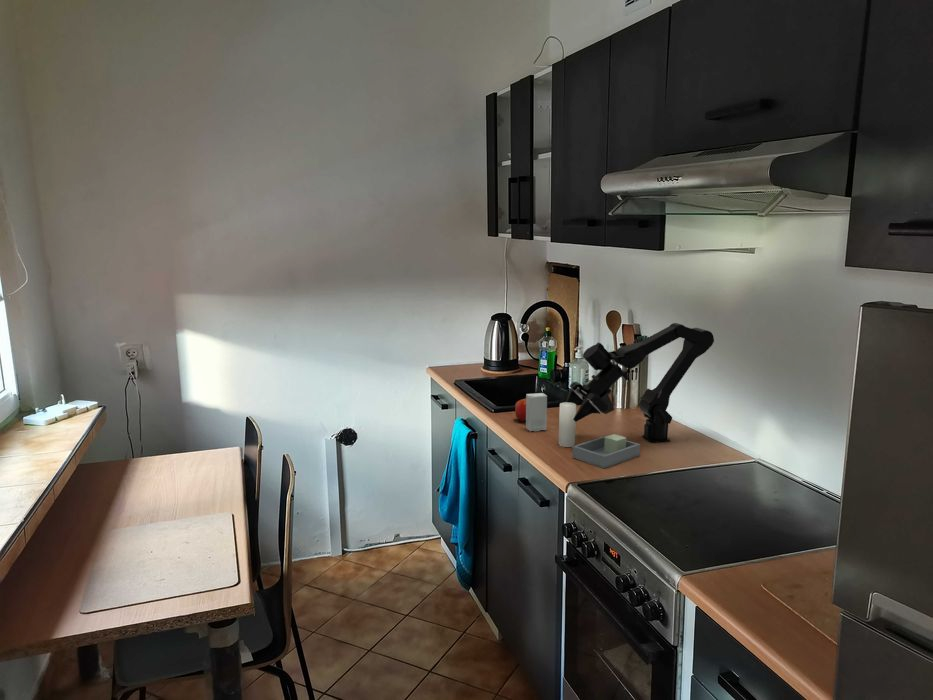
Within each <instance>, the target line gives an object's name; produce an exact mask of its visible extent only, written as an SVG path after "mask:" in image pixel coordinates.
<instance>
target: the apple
mask: <svg viewBox="0 0 933 700" xmlns="http://www.w3.org/2000/svg"><path fill="white" fill-rule="evenodd" d="M514 409H515V410H514V411H515V414H514V415H515V417H516V419H517V420H519V421H521V420H522V422H525V421H526V398H523V399H522V398H521V399H519V400H518V401H516V403H515V405H514Z"/></svg>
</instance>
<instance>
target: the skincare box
mask: <svg viewBox="0 0 933 700" xmlns="http://www.w3.org/2000/svg"><path fill="white" fill-rule="evenodd" d="M525 399H526V422H525V429H526V428H527V429H528V430H529V431H534V432H541V431H540V430H545V431H547V424H548V422H547V418H548V417H547V414H548V410H547V409H548V395H546V394H545V393H543V392H538V393H526V395H525ZM528 430H527V431H528ZM529 431H528V432H529Z"/></svg>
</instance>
